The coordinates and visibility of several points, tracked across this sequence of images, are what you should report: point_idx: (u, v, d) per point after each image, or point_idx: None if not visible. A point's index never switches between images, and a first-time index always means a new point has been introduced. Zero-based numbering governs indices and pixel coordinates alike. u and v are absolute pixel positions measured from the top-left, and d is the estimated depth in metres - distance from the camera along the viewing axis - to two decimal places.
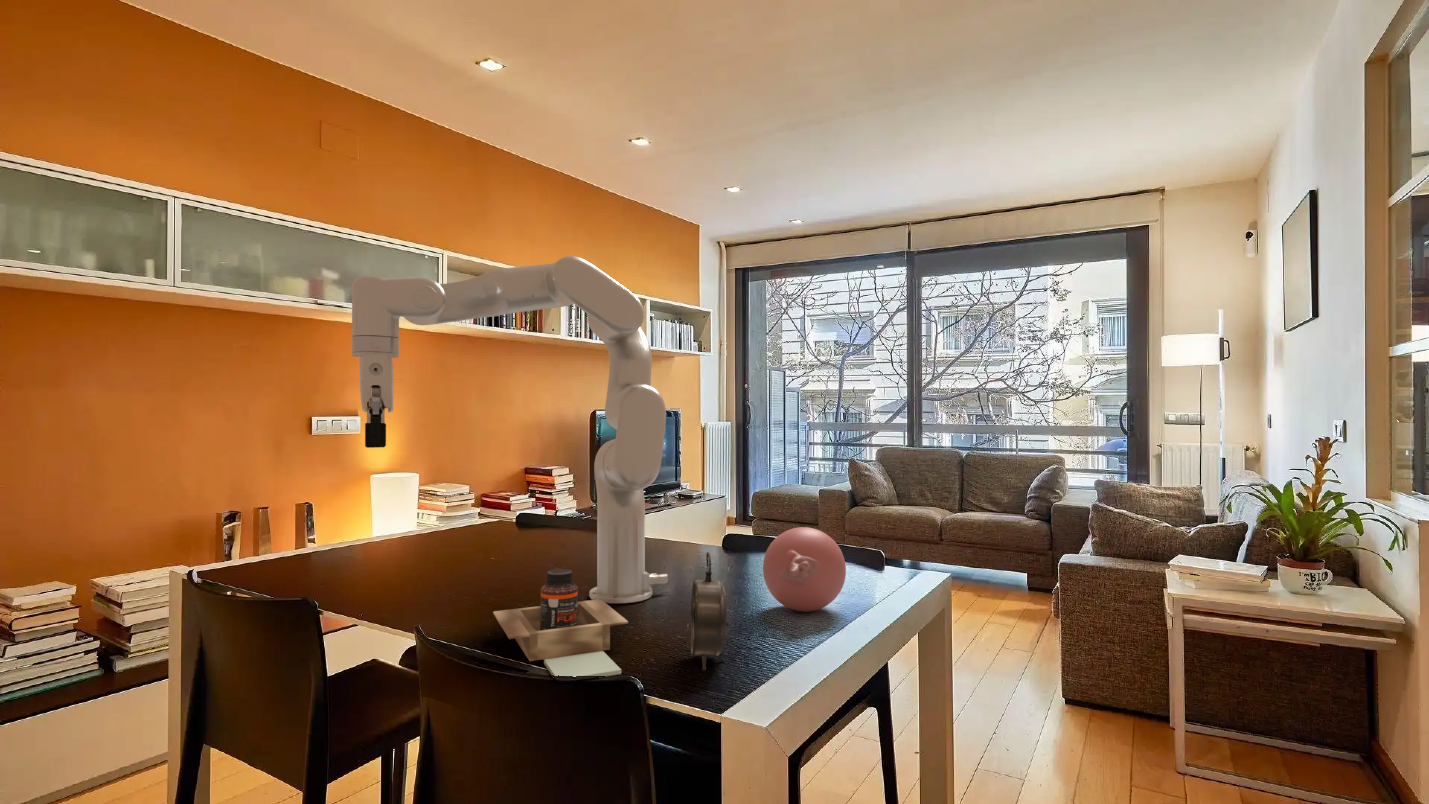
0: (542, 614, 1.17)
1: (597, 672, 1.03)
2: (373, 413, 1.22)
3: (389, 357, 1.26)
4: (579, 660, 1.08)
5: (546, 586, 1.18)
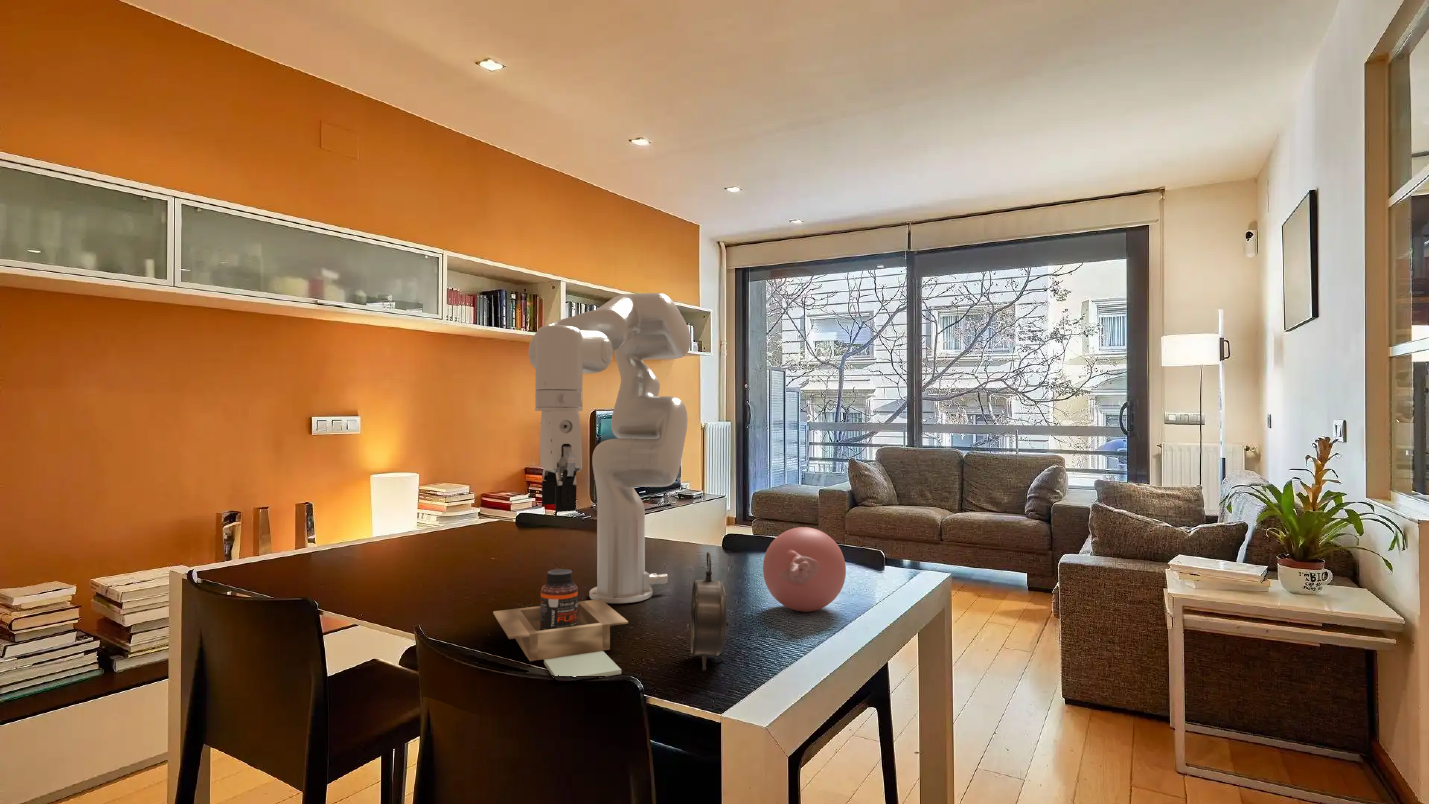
0: (542, 614, 1.17)
1: (597, 672, 1.03)
2: (567, 475, 1.12)
3: (578, 413, 1.16)
4: (579, 660, 1.08)
5: (546, 586, 1.18)
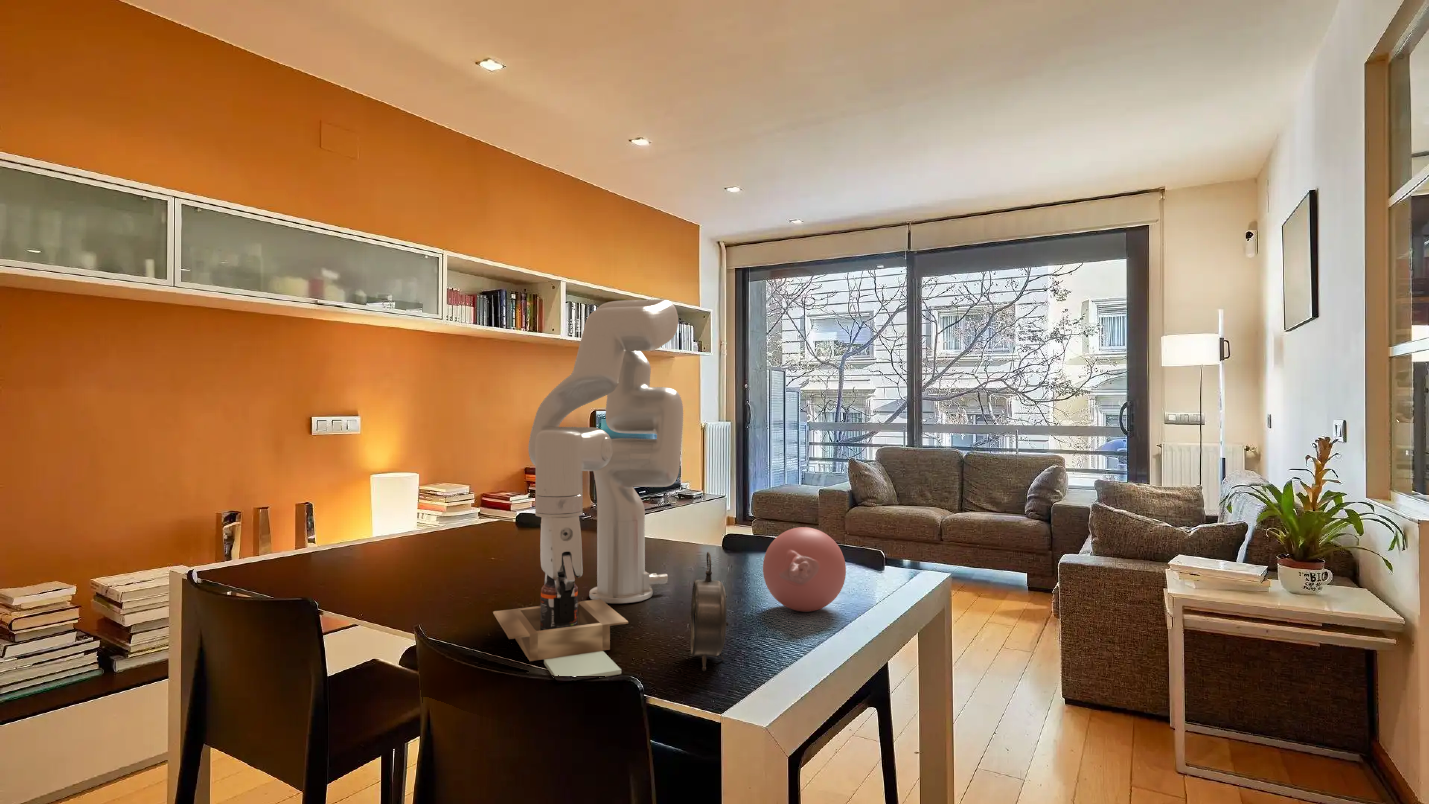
0: (542, 614, 1.17)
1: (597, 672, 1.03)
2: (565, 590, 1.14)
3: (578, 519, 1.16)
4: (579, 660, 1.08)
5: (546, 586, 1.18)
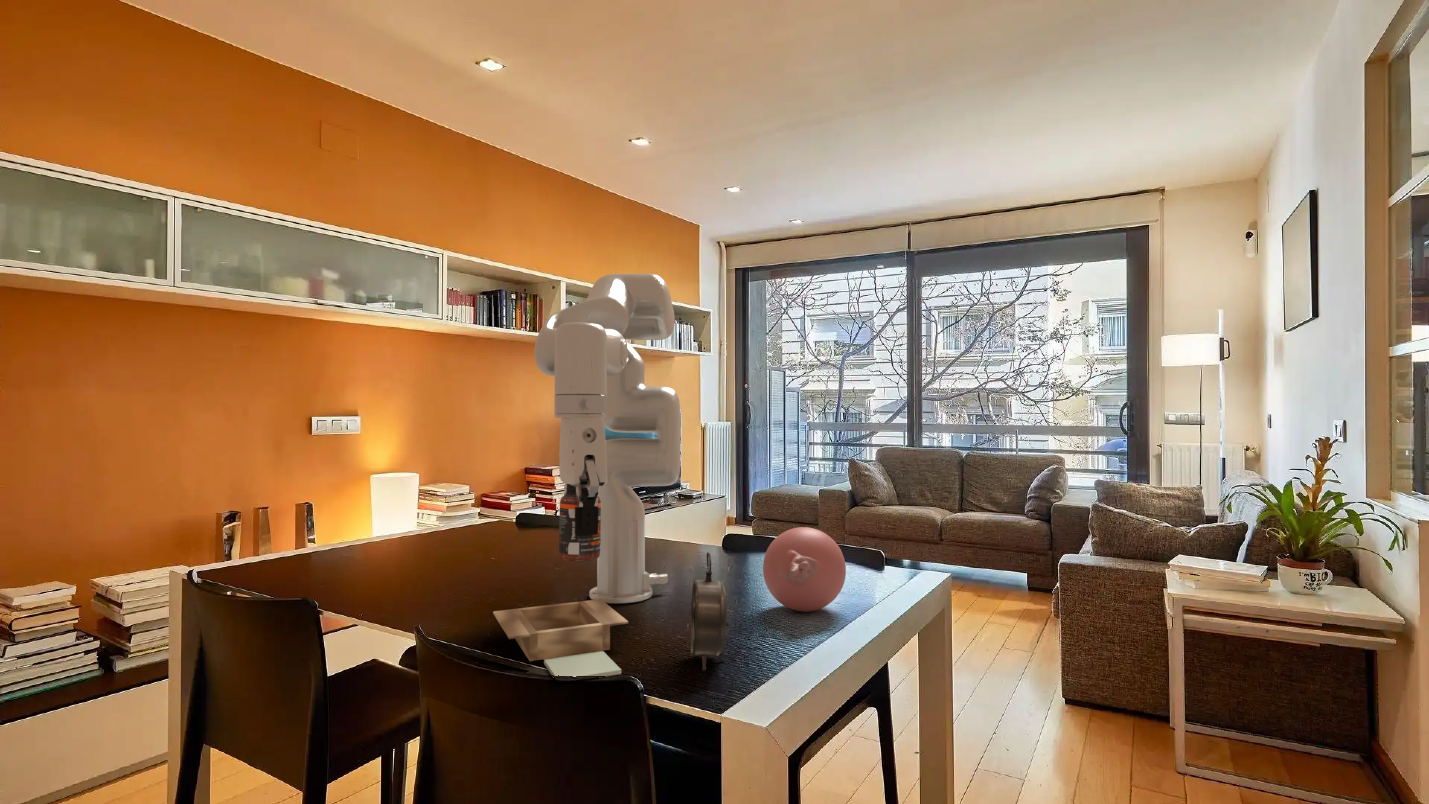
0: (561, 527, 1.05)
1: (597, 672, 1.03)
2: (588, 497, 1.02)
3: (602, 420, 1.04)
4: (579, 660, 1.08)
5: (566, 496, 1.06)
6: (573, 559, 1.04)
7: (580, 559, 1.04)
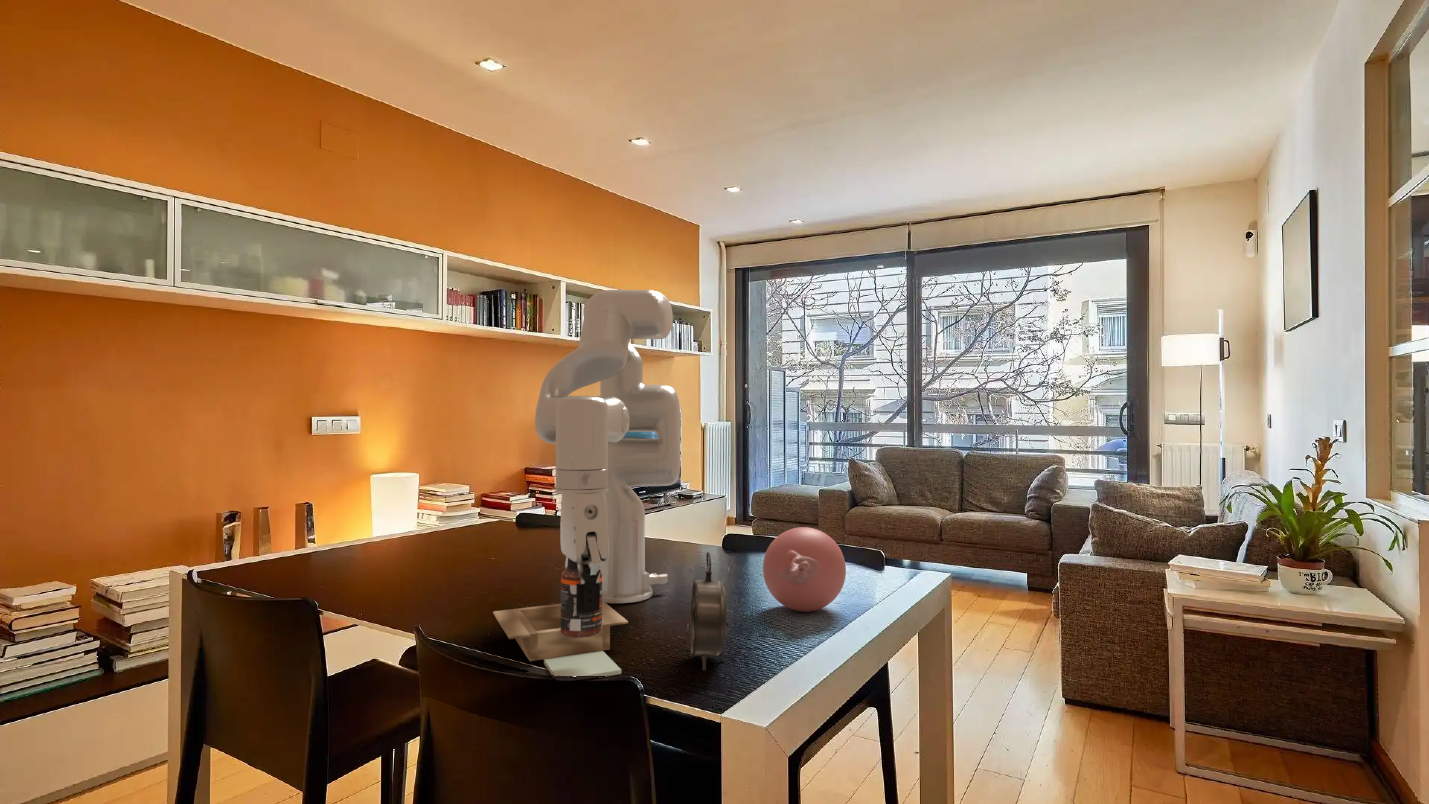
0: (563, 602, 1.04)
1: (597, 672, 1.03)
2: (590, 575, 1.01)
3: (604, 495, 1.04)
4: (579, 660, 1.08)
5: (567, 571, 1.05)
6: (575, 635, 1.03)
7: (582, 635, 1.03)
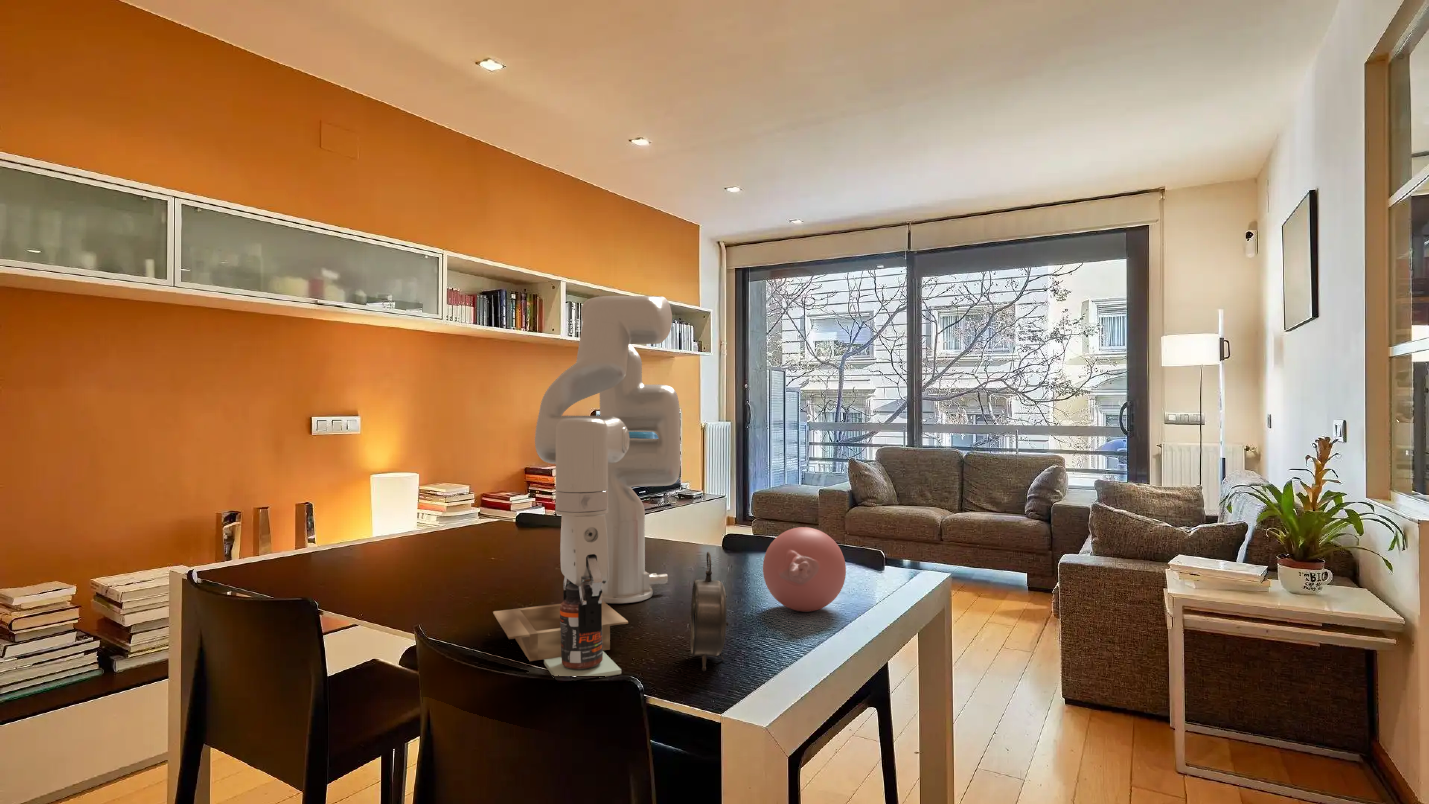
0: (562, 634, 1.05)
1: (597, 672, 1.03)
2: (592, 595, 1.00)
3: (604, 517, 1.04)
4: None
5: (565, 603, 1.05)
6: (575, 667, 1.03)
7: (582, 667, 1.03)
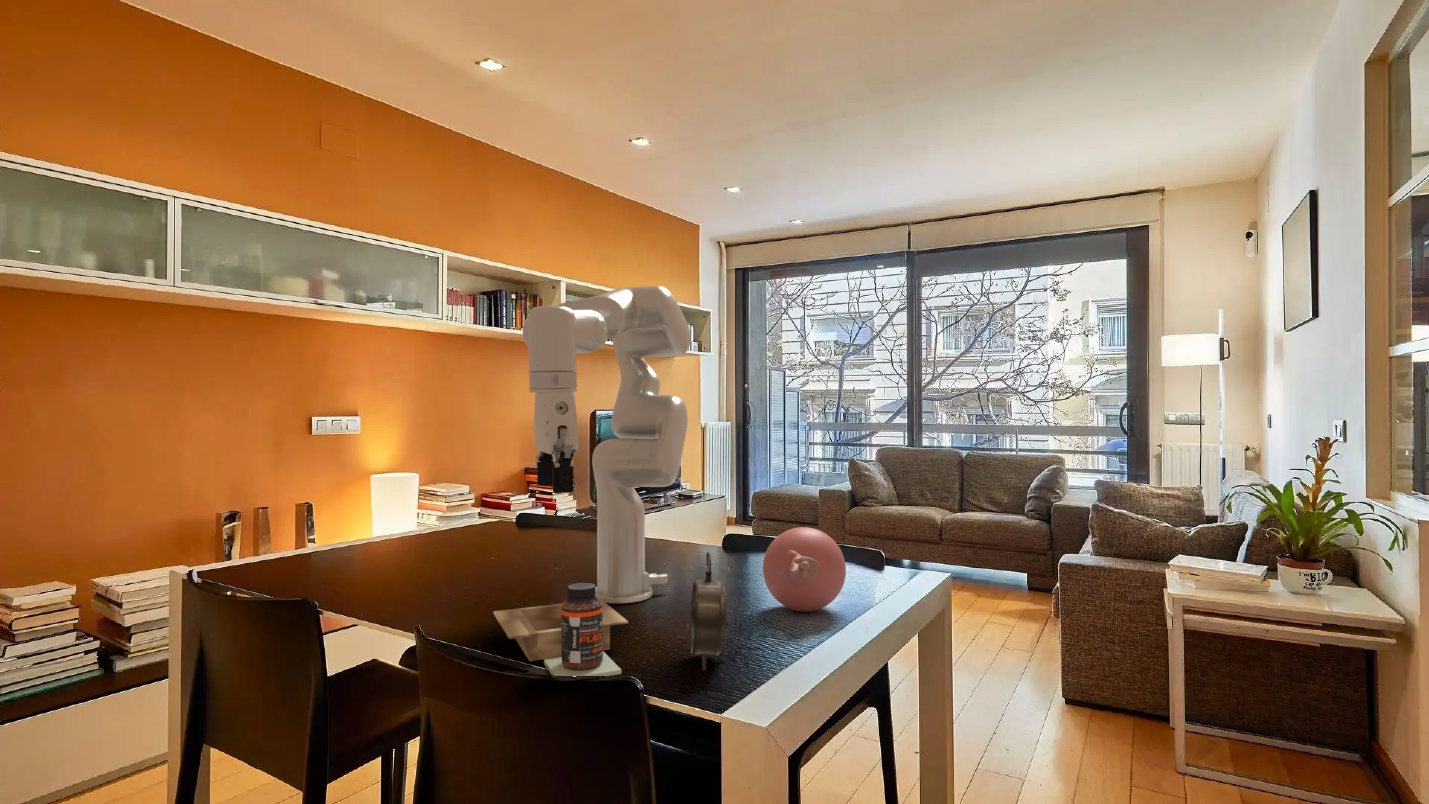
0: (563, 634, 1.05)
1: (597, 672, 1.03)
2: (565, 457, 1.12)
3: (573, 394, 1.16)
4: None
5: (567, 602, 1.05)
6: (575, 667, 1.04)
7: (582, 667, 1.03)
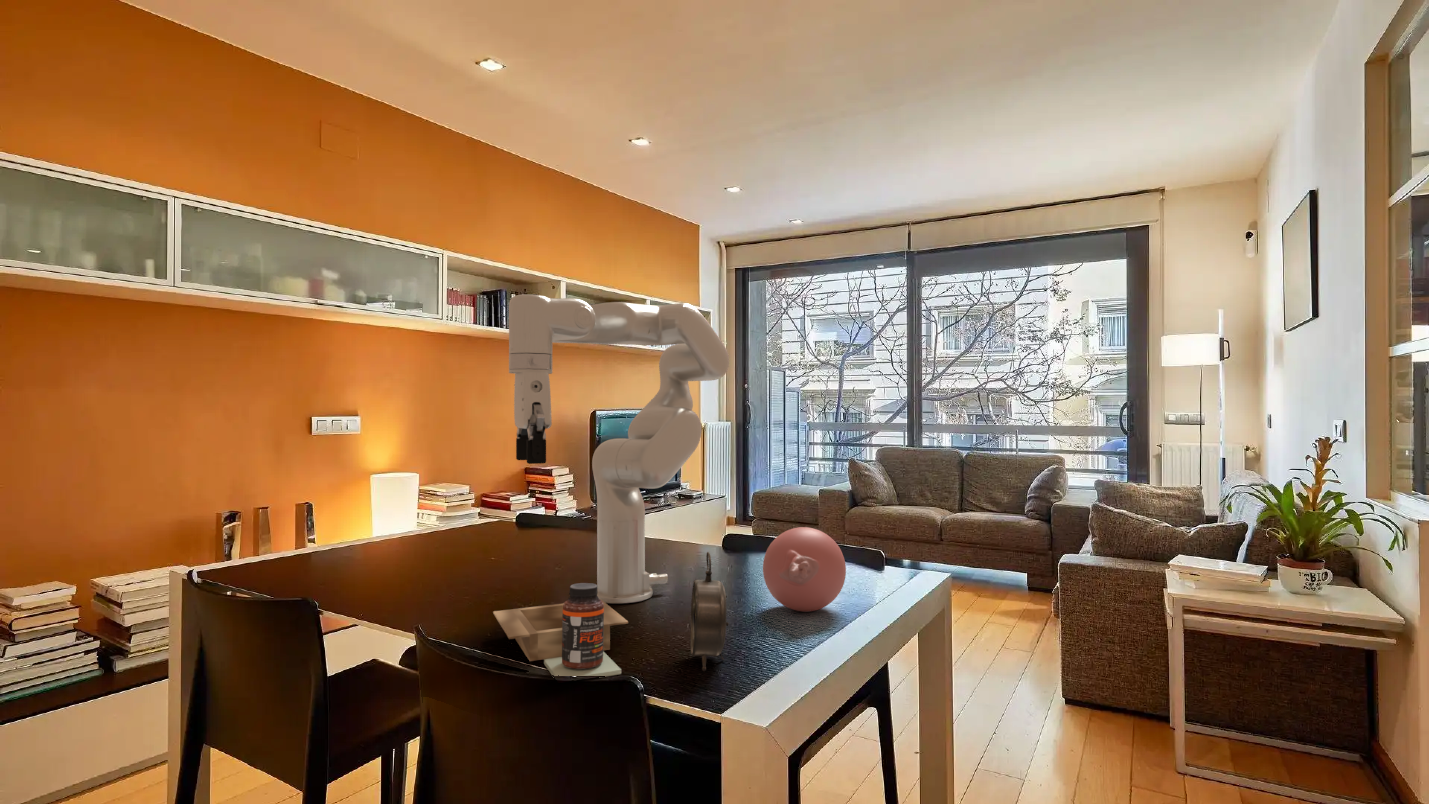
0: (564, 633, 1.05)
1: (597, 672, 1.03)
2: (537, 430, 1.23)
3: (547, 374, 1.28)
4: None
5: (568, 602, 1.05)
6: (574, 667, 1.04)
7: (581, 667, 1.03)
